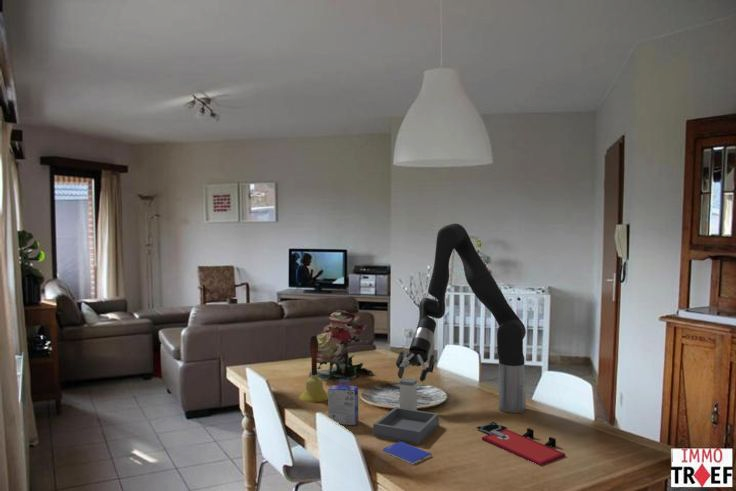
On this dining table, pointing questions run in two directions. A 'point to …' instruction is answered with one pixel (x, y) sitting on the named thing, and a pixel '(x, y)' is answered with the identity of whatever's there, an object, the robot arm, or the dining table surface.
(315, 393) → the handbell
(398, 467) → the dining table surface
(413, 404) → the grey block
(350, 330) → the rose bouquet
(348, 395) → the ink cartridge box
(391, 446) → the hard drive
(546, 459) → the red board with handle
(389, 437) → the tray
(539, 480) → the dining table surface
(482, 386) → the dining table surface
